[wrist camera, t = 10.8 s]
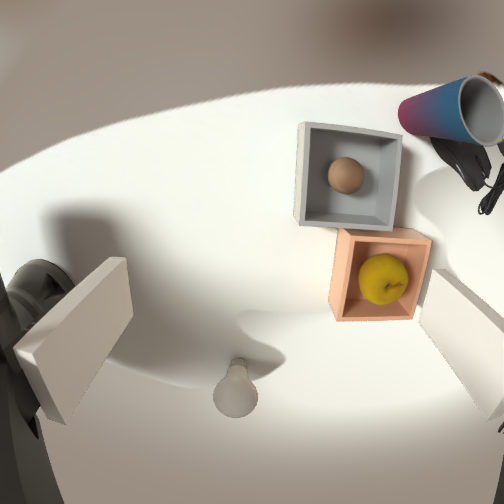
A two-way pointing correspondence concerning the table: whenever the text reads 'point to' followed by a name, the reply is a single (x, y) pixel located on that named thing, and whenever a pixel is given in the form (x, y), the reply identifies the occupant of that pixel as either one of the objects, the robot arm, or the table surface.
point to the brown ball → (346, 175)
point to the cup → (457, 112)
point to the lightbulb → (235, 391)
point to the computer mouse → (472, 167)
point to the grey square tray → (342, 205)
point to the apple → (382, 279)
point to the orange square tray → (354, 255)
